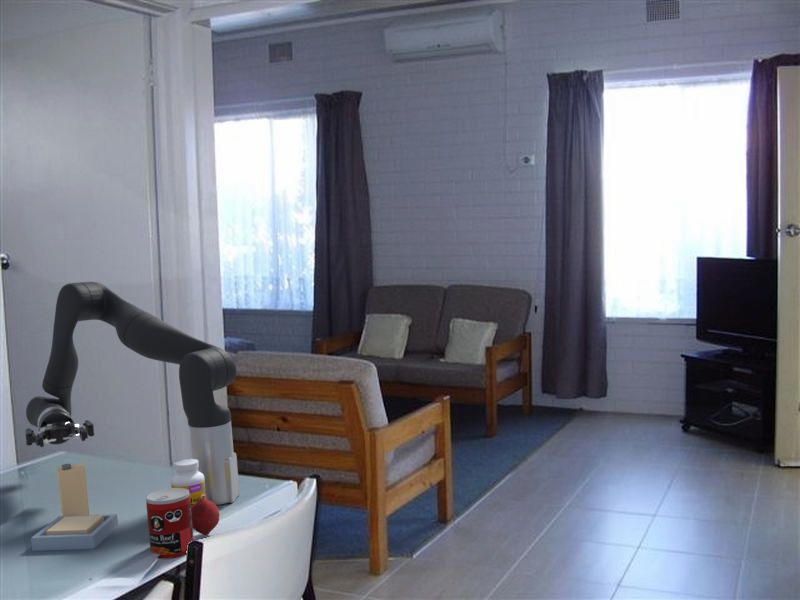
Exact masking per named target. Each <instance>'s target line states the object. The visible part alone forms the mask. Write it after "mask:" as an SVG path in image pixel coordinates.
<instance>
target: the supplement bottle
mask: <svg viewBox="0 0 800 600" xmlns="http://www.w3.org/2000/svg"><path fill="white" fill-rule="evenodd" d="M198 467H199V464H198V460H196V459H191V458H186V459H180V460H177V461H175V462H174V470H175V474H174V475H173V476H172V477H171V479H170V485H171V487H170V488H184V489H187V490H189V494H190V503H191V508H192V506H193V505H194V504H195V503H196V502H197V501H198V500H199V499H200V497H201V495H206V493H205V479H204V475H203V474H202V473H201V472H199V471H198Z"/></svg>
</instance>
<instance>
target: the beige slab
mask: <svg viewBox="0 0 800 600" xmlns="http://www.w3.org/2000/svg"><path fill="white" fill-rule="evenodd" d="M101 515H102V516H75V517H64V518H62V519H61V520H60V521H58V522H57V523H56V524H55V525H53V526H52V527H51V528H49V529H48V530H47V531H46V536H47V535H75V534H90V533H92V532H93V531H94V530H95V529H96V528H97V527H98V526H100V525H101V524H102V523H103V522H104V517H103V515H104V514H101Z"/></svg>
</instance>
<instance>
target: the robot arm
mask: <svg viewBox="0 0 800 600" xmlns="http://www.w3.org/2000/svg"><path fill="white" fill-rule="evenodd" d="M94 320H95V321H101V322H104V323H106V324H108V325H110V326H112V327H114V328H115V331H116V335H117V338H118V339H119V341H120V343H122V345H124V346H125V347H126V348H128V349H129V350H131V351H133V352H135V353H136V354H138V355H140V356H142V357H145V358H146V359H150V360H154V361H158V362H162V363H163V362H164V363H167V364H169V363H170V364H174V365H179V367H178V380H179V387H180V388H179V389H180V394H181V403H182V407H183V411H184V412H183V413H184V414H185V416H186V418H187V427H188V428H187V429H188V439H189V452H190V453H189V454H190V459H196V460H198V464H199V467H198V471H199V472H201V473H202V474H203V475H204V479H205V493H206V496H207V497H206V498H207V500H209V501H211V502H213V503H214V504H215V505H216V506H218V505H219V506H220V505H223V504H230V503H232V504H233V503H234V502H235V500H236V499H237V498H238V496H239V495H240V482H239V471H238V469H239V468H238V459H237V453H236V452H234V443H233V428H232V414H231V410H230V408H229V407H228V406H225V405H220V404H217V403H216V401H215V396H214V395H215V394H214V392H215V391H219V390H222V389H223V388H226V387H228V386H230V385H231V384H232V383H233V382H234V381H235V379H236V376H237V371H238V370H237V365H236V363H235V360H234V359H233V357H232V356H231V355H230V354H229V353H228V352H227V351H226V350H224V349H223V348H221V347H218V346H216V345H213V344H211V343H209V342H206V341H203V340H201V339H199V338H195V337H194V336H191V335H190V334H187V332H184V331H182V330H180V329H178V328H177V327H175V326H173V325H171V324H169V323H167V322H165V321H164V320H162V319H160V318H159V317H157V316H156V315H153V314H151V313H150V312H148V311H145V310H143V309H141V308H140V307H138V306H136V305H134V304H132V303H130V302H128V301H126V300H125V299H123V298H122V297H121V296H119V295H118V294H117V293H115V292H114V291H112V290H111V288H108V287H107V286H105V285H104V284H102V283H100V282H96V281H83V282H80V281H79V282H70V283H66V284H64V285H63V286H62V287H61V289H60V290H59V292H58V295H57V300H56V303H55V312H54V322H53V329H52V331H53V332H52V341H51V349H50V354H49V358H48V363H47V366H46V369H45V372H44V376H43V379H42V383H41V384H42V385H41V388H42V390H43V391H44V392H45V393H46V394H48V395H51V396H52V397H47V396H41V395H38V396H34V397H33V398H31V399H30V400H29V401H28V404H27V406H26V408H25V409H26V410H25V416H26V419H27V422H28V423H29V424H30V425H31V426H33V427H36V428H37V430H34V429H32V428H29V427H28V428H26V429H25V442H26V443H25V444H26V446H32V445H33V443H34V444H35V445H36V446H39V447H40V448H44V447H45V445H46V444H50V445H62V444H65V443H67V442H68V441H69V440H77V439H80V440H81V442H85V441H86V439H88V438H89V437H94V436H95V428H94V427H95V425H94V424H93V423H92V422H91V421H90V420H88V419H87V420H84V421H83V422H82V424H79V423H77V422H74V419H73V418H72V391H73V386H74V383H75V379H76V376H77V373H78V369H79V358H78V357H79V356H78V353H77V350H76V348H75V347H76V346H75V344H74V340H73V339H74V333H75V328H76V326H77V323H79V322H83V321H84V322H85V321H94ZM54 397H55V398H54ZM44 444H45V445H44Z"/></svg>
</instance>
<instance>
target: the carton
mask: <svg viewBox="0 0 800 600" xmlns="http://www.w3.org/2000/svg"><path fill="white" fill-rule="evenodd" d="M56 474H57V485H58V493H59V503H60V504H59V506H60V514H61V515H60V516H80V515H90V509H89V507H90V506H89V498H88V486H87V475H86V468H85V466H84V465H83V463H82V462H81V463H75V464H71V463H64V464H61V466H57V467H56Z"/></svg>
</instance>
